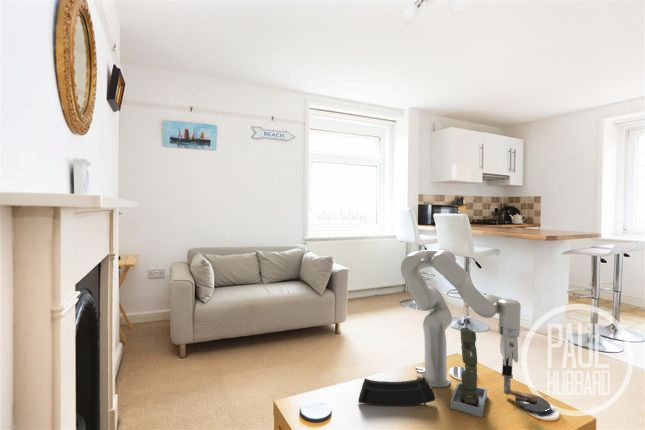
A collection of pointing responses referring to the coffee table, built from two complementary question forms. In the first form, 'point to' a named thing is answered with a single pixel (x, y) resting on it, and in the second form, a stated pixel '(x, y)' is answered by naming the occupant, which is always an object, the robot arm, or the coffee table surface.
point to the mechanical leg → (469, 368)
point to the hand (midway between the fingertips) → (506, 374)
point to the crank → (507, 391)
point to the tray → (466, 408)
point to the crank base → (533, 405)
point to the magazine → (396, 393)
